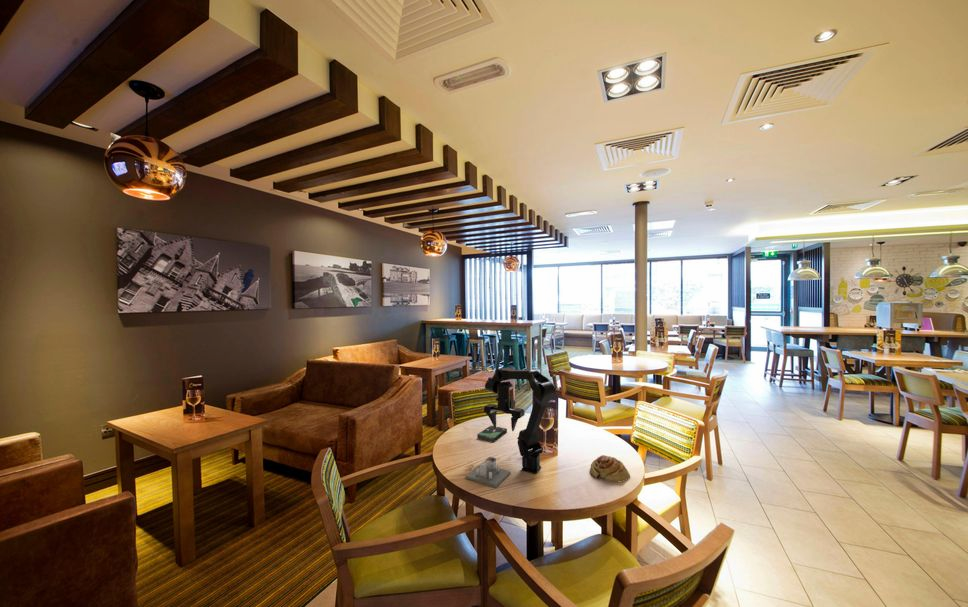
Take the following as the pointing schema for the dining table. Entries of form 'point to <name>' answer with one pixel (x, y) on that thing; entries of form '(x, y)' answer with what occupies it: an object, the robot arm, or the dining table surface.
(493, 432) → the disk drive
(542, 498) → the dining table surface
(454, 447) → the dining table surface
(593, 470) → the pastry
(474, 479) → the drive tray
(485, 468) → the block
